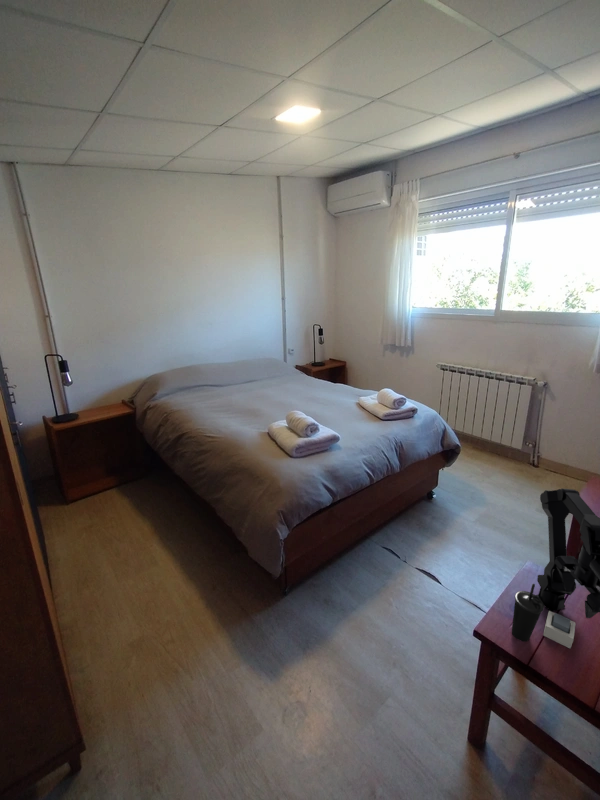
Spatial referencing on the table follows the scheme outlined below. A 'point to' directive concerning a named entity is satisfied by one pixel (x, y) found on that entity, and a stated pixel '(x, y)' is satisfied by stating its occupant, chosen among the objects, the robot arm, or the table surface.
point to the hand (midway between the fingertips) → (577, 604)
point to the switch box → (559, 632)
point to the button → (561, 622)
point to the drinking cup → (526, 614)
